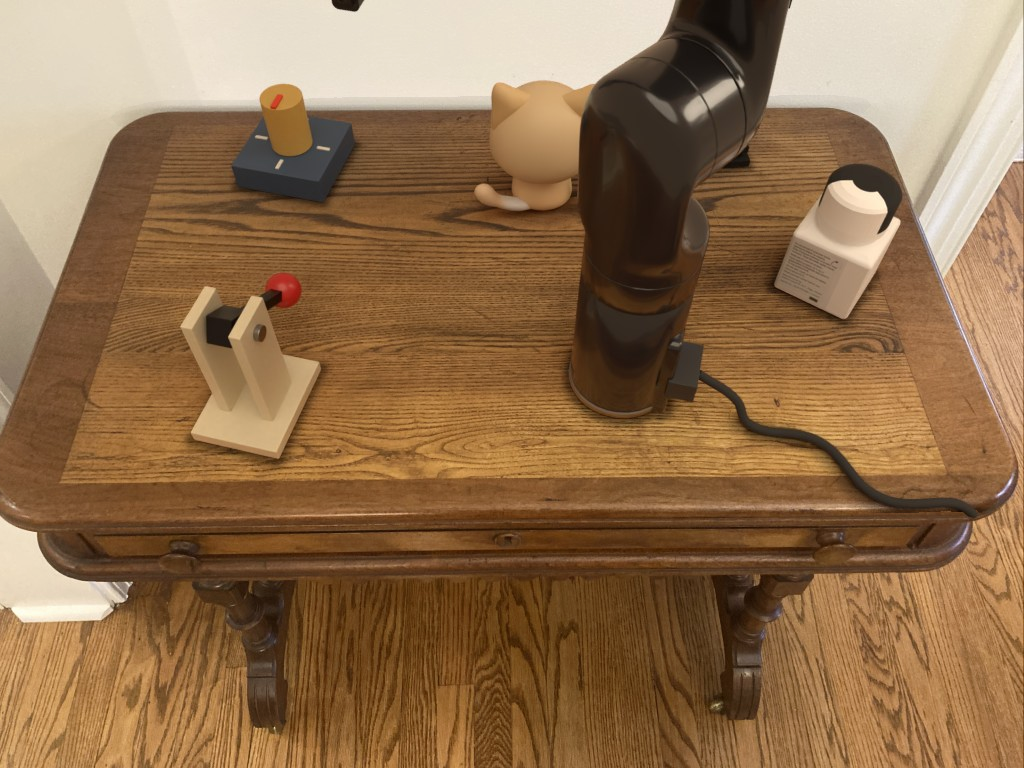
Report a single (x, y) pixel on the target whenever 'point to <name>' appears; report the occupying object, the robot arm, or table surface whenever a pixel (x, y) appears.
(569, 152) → the kitten
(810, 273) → the container
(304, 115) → the dial
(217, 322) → the red knob lever
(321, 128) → the panel
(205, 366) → the lever stand
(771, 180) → the table surface
